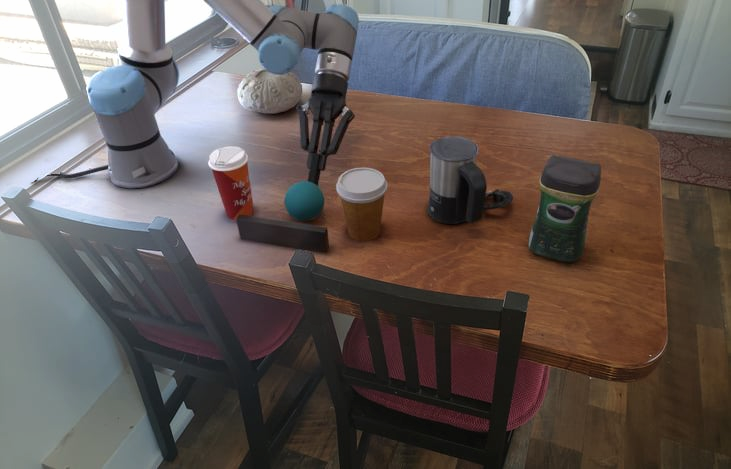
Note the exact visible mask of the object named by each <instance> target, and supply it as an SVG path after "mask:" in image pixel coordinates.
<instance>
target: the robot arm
mask: <svg viewBox="0 0 731 469" xmlns="http://www.w3.org/2000/svg"><path fill="white" fill-rule="evenodd" d="M203 2H204V3H206V4H207V5H208V6H209V7H210V8H211V9H212V10H213V11H214V12H215V13H216V14H217V15H219V16H220V17H221V18H222V20H223V21H225V22H226V23H227V24H228V25H229V26H230V27H231V28H232V29H234V30H235V32H236V33H237V34H239V35H240V36H241V37H242V38H243V39H244V40H245V41H246V42H247V43H248V44H250V45H251V46H252V47H253V49H255V51H257V56H258V60H259V63H260V65H261V66H262V68H264V69H265V70H267V71H268V72H270V73H272V74H276V75H283V74H286V73H288V72H292V71H293V69H294V68H295V66H296V65H298V63H299V60H300V59H301V55H302V52H303V51H304V49H308V50H315V51H318V53H317V59H316V64H315V68H314V69H315V70H314V74H315V75H314V76H313V80H312V86H311V93H310V97H309V98H308V99H307V102H306V103H304V104H303V105H300V104H297V106H296V107H295V109H296V111H297V114H298V116H299V134H300V136H299V137H300V148H301V149H302V150H303V151H305V152H306V153H307V160H306V164H305V165H306V169H307V170H309V171H308V177H307V181H308V182H312V183H314V184H315V185H317V186H318V187H319V183H320V177H321V172H324V171H325V170H326V167H327V162H328V157H329V156H332V155H333V156H335V155H337V154H338V152H339V148H340V146H341V144H342V141H343V139H344V137H345V134H346V132H347V130H348V127H349V125H350V124H351V122H352V121H353V120H354V119H355V118H356V115H355V113H354V112H353V110H352V109H349V108H348V107H347V102H346V99H347V93H348V87H349V82H348V81H349V80H350V76H351V69H352V64H353V58H354V53H355V47H356V41H357V36H358V28H359V14H358V13H357V11H356V10H355V9H354V8H352V7H350V6H348V5H346V4H342V3H338V4H334V3H333V4H330V5H328V6H327V7H326V9H325V11H324V13H322V12H321V13H319V12H314V11H313V12H312V11H308V10H302V9H297V8H293V7H290V6H287V5H286V6H282V5H271V6H269V7H268V6H267V5H266V4H265V3H264V2H263V0H203ZM165 4H166V2H165V0H121V6H122V20H123V21H122V22H123V32H124V33H123V34H124V40H123V41H122V42H121V43H120V44H119V45H118V48H117V53H118V65H113V66H109V67H107V68H105V69H104V70H99V71H98V72H96V73H95V74H93V75H92V76H91V77H90V78H89V80H88V81H87V83H86V93H87V97H88V102H89V105H90V107H91V109H92V110H93V113H94V115H95V118H96V121H97V123H98V126H99V129H100V131H101V133H102V136H103V139H104V141H105V144H106V147H107V160H108V164H105V165H102V166H97V167H93V168H90V169H86V170H83V171H79V172H75V173H66V172H63V171H59V172H60V174H51V175H47V176H46V177H62V178H64V179H75V178H81V177H84V176H87V175H91V174H95V173H99V172H102V171H108V175H109V178H110V180H111V182H112V184H114V185H115V186H117V187H120V188H124V189H142V188H147V187H152V186H154V185H157V184H159V183H162V182H164V181H166V180H167V179H169V178H170V177H172V175H174V174H175V172H176V171H177V170H178V166H179V163H178V160H177V157H176V154H175V153H174V151H173V150H172V149H170V147H169V145H168V144H167V142H166V141H165V139H164V138H163V137H162V135H161V132H160V129H159V125H158V122H157V119H156V114H157V113H158V111H159V110H160V109H161V107H162V106H163V105H164V104H166V102H167V100H168V99H169V98H171V96H172V95H173V94H174V93H175V91H176V88H177V87H178V84H179V81H180V70H179V69H180V68H179V66H178V64H177V61H176V60H174V58H173V56H174V55H173V53H174V52H173V49H172V48H171V47H170V46H169V45H168V44H166V7H165ZM310 112H311V114H312V126H311V133H310V126H309V124H310V123H309V117H308V115H309V114H310ZM340 116H341V117H340ZM339 117H340V120H339V123H338V125H337V127H336V130H335V132H334V134H333V131H334V127H335V123H336V120H337V119H338V118H339ZM322 129H323V130H322ZM321 134H322V137H321ZM320 139H321V143H320ZM319 145H320V148H319ZM318 152H319V153H318Z"/></svg>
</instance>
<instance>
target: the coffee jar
mask: <svg viewBox="0 0 731 469" xmlns="http://www.w3.org/2000/svg"><path fill="white" fill-rule="evenodd" d="M601 176H602V165H601V164H600V163H596V162H593V161H589V160H583V159H578V158H573V157H568V156H563V155H562V156H561V155H555V154H552V155H551V156H550V157H549V158H548V159H547V161H546V163H545V164H544V167H543V170H542V173H541V175H540V177H539V182H538V183H539V190H540V197H539V203H538V208H537V212H536V214H535V218H534V221H533V224H532V227H531V230H530V234H529V240H528V248H529V250H530V252H532V253H533V254H534V255H537V256H539V257H541V258H545V259H549V260H552V261H556V262H562V263H575V262H576V261H578V260H579V259H580V258H581V257H582V255H583V253H584V248H585V244H586V238H587V231H588V230H587V229H588V222H589V214H590V210H591V205H592V202H593V200H594V199H595V198H596V197H597V195H598V193H599V191H600V187H601Z"/></svg>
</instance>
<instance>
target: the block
mask: <svg viewBox="0 0 731 469" xmlns="http://www.w3.org/2000/svg"><path fill="white" fill-rule="evenodd" d="M235 222H236V226H237V230H238V235H239V239H240V240H242V241H243V240H244V241H248V242H249V241H250V242H255V243H261V244H267V245H274V246H280V247H285V248H286V247H287V248H292V249H298V250H304V251H305V250H306V251H311V252H316V253H324V254H327V253H328V251H329V250H330V242H329V232H328V231H329V230H328V227H327V226H321V225H314V224H307V223H301V222H293V221H286V220H281V219H273V218H267V217H260V216H254V215H252V216H247V215H241V214H239V216H238V217H237V218H236V221H235Z"/></svg>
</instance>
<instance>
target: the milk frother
mask: <svg viewBox="0 0 731 469" xmlns="http://www.w3.org/2000/svg"><path fill="white" fill-rule="evenodd" d="M428 147H429V152H430V158H429V159H430V161H429V162H430V163H429V164H430V165H429V172H430V173H429V200H428V205H427V214H428V215H429V217H430V218H432V219H433V220H434V221H436V222H439V223H442V224H449V225H454V224H455V225H456V224H460V223H464V222H467V223H469V224H474V223H477V222H479V221H481V220H482V217H483V212H484V211H489V210H497V209H501V208H503V207H506V206H508V205H510V204H511V203H512V202H513V201H514V194H513V193H511V192H510V191H508V190H500V189H499V188H495V189H494V190H489V191H488V192H487V190H488V188H487V187H488V185H487V184H488V183H487V179H486V175H485V174H484V172H483V170H482V169H481V168H480V167H479V166H478V165H477V155H478V153H479V150H480V148H479V146H478V144H477V143H476V142H475V141H473V140H471V139H469V138H466V137H461V136H443V137H440V138H437V139H435V140H434V141H432V142H431V143H430V144H429V146H428ZM489 198H492V201H493V203H487V202H485V201H486V200H487V199H489Z"/></svg>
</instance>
